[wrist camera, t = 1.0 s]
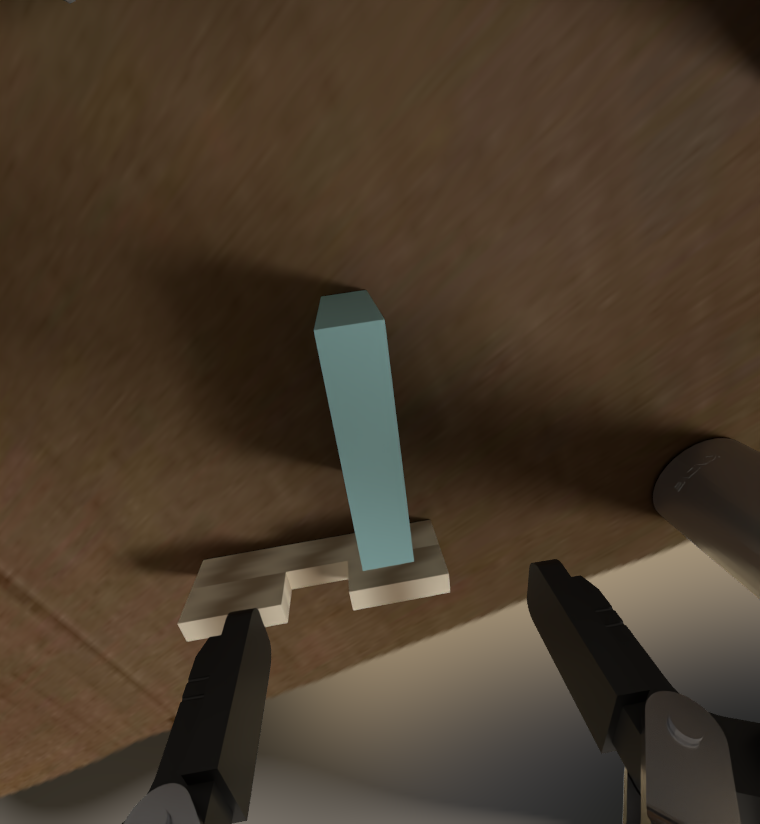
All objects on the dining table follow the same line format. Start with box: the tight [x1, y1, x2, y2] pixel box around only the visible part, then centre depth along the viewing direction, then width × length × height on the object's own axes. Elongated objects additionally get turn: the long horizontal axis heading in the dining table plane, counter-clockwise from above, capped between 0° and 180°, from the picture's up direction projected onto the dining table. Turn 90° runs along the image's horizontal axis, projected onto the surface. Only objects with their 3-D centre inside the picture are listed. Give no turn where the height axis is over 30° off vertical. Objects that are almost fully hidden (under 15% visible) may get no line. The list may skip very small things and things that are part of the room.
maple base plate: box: [178, 520, 450, 642], centre depth 31 cm, size 20×2×6 cm, turn 97°
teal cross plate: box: [314, 290, 414, 571], centre depth 23 cm, size 14×3×10 cm, turn 7°
